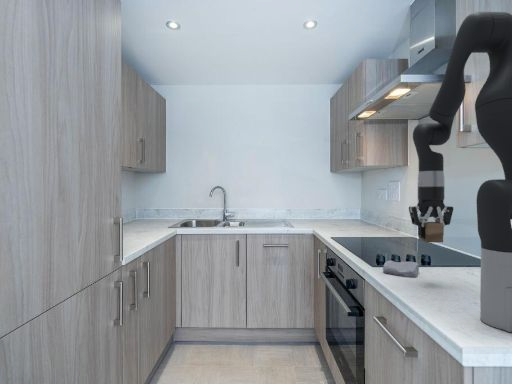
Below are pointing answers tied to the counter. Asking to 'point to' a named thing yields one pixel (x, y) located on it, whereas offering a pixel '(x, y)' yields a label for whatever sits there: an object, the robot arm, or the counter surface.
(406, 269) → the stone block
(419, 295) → the counter surface
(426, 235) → the walnut block
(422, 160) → the robot arm
